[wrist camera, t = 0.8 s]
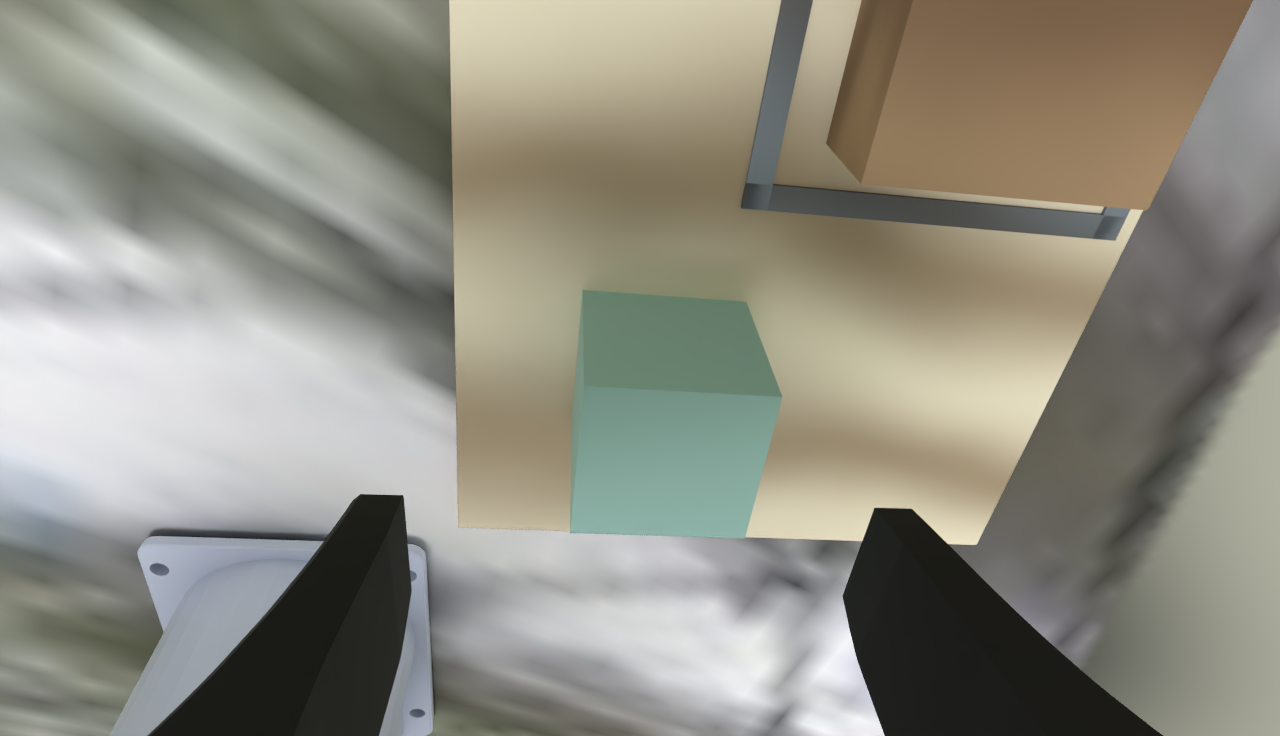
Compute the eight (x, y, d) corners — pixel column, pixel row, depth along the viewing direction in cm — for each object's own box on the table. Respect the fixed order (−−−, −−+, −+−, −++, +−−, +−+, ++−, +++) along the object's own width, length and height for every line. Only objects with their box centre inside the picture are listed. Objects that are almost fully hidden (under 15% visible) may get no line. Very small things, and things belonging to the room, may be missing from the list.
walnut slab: (1079, 168, 18) (1147, 210, 15) (826, 143, 17) (861, 184, 15) (1217, -147, 14) (1326, -147, 12) (909, -195, 14) (970, -204, 11)
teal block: (718, 430, 21) (745, 538, 18) (571, 423, 21) (570, 532, 17) (745, 301, 19) (781, 397, 16) (582, 289, 18) (583, 385, 15)
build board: (969, 533, 25) (977, 547, 24) (460, 515, 23) (457, 530, 22) (1357, -265, 14) (1387, -269, 13) (446, -429, 12) (441, -440, 11)
